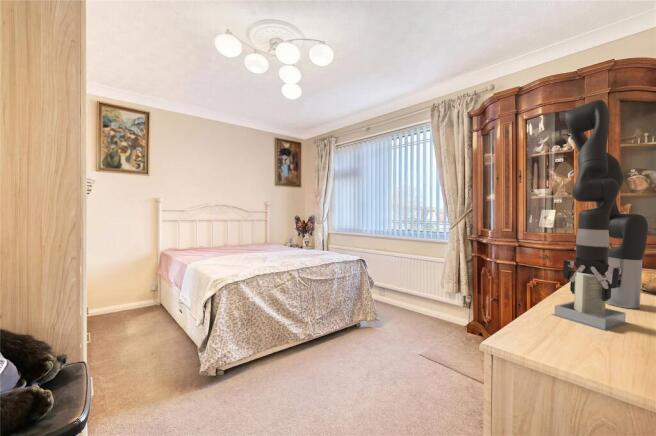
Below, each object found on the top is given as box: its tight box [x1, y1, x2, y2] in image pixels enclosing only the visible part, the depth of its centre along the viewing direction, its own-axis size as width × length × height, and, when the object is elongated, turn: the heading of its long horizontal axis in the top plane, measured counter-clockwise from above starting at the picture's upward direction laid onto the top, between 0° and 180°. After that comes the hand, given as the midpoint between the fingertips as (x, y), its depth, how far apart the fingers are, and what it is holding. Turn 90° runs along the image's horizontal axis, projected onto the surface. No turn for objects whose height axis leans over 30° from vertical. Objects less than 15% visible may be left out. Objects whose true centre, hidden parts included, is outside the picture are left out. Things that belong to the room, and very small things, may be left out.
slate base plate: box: [550, 310, 630, 332], centre depth 92 cm, size 14×14×1 cm
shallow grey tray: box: [553, 300, 627, 331], centre depth 92 cm, size 13×13×3 cm
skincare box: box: [573, 273, 606, 315], centre depth 91 cm, size 6×4×12 cm
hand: (589, 296), depth 91 cm, fingers closed on skincare box, 7 cm apart
